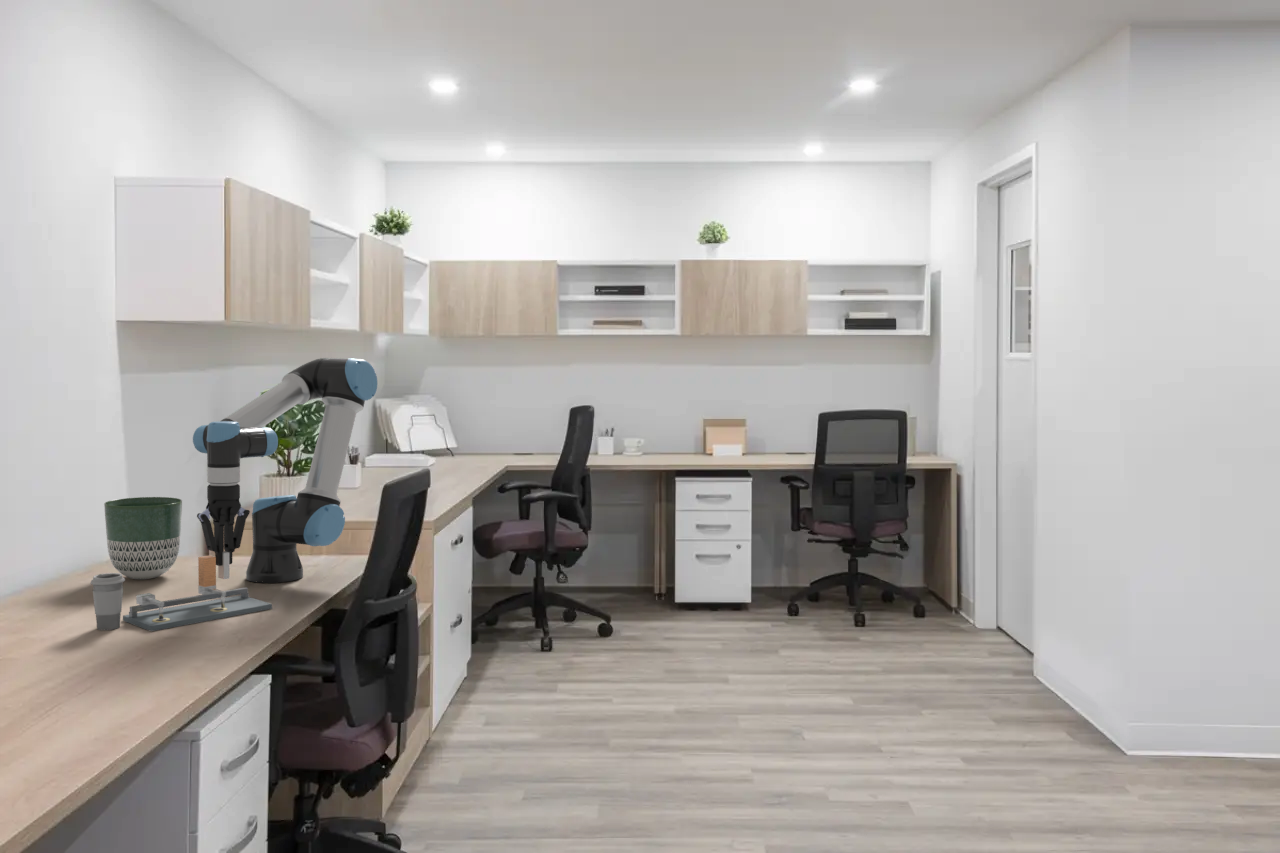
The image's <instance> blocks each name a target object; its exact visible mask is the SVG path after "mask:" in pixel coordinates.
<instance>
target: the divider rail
mask: <svg viewBox="0 0 1280 853" xmlns="http://www.w3.org/2000/svg"><path fill="white" fill-rule="evenodd" d="M224 591H225V592H226V595H225V598H228V597H234V596H239V595H241V598H249V597H250V593H249V588H248V587H239V588H234V589H227V590H224ZM135 596H136V598H135V599H136V604H137V605H133V606H129V611H128V615H129V617H131V618H135V617H137V613H140V612H146V611H152V610H158V609H159V619H163V609H164V608H169V607H175V606H181V605H187V604H193V603H199V602H204V601H210V600H216V599H221V595H218V594H208V595H203V594H197V595H192V596H187V597H180V598H175V599H168V600H167V599H166V600H158V599H156V594H153V593H150V592H148V593H143V594H142V593H141V594H136V595H135Z"/></svg>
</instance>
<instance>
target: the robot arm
mask: <svg viewBox="0 0 1280 853" xmlns="http://www.w3.org/2000/svg"><path fill="white" fill-rule="evenodd" d="M377 390H378V377H377V372H375V369H374V366H372V364H371V363H370V362H369V361H367V360H365V359H363V358H362V359H361V358H354V357H351V358H341V357H340V358H338V357H336V358H335V357H331V358H329V357H323V358H322V357H320V358H317V359H314V360H311V361H308V362H306V363H304V364H302V365H299V366H298V367H296V368H295V369H293V370H292V371H290V372H288V373H286V374H285V375H284V376H283V377H282V378H281V381H280V383H277V384H276V385H274V386H273V387H271V388H270V389H269V390H266V391H265V392H264V393H262V394H260V395H259V396H257V397H256V398H254V399H252V400H251V401H249V402H248V403H246V404H245V405H243V406H242V407H240V408H238V409H237V410H235V411H234V412H232V413H231V414H229V415H227V416H226V417H224V418H223V419H221V420H218V421H211V422H209V423H208V424H204V425H200V426H198V427H196V429H195V431H193V432H194V433H193V435H192V443H193V446H194V448H195V450H197V451H198V452H199V453H202V454H207V456H206V458H207V459H206V460H207V462H206V464H207V465H206V466H207V469H206V471H207V474H206V476H207V483H208V485H207V487H206V488H207V489H206V490H207V492H206V494H207V497H206V498H207V505H206V507H205V510H203V511H202V512H201V513H200V512H199V513H197V514H196V518H197V519H198V520H199V521H200V524H201V528H202V532H203V536H204V541H205V545H206V549H207V550H208V551H211V552H214V555H215V556H214V557H216V567H218V568H217V569H218V570H217V574H218V575H217V576H218V577H217V578H219V579H222V580H228V579H230V565H232V564H233V553H234V552H235V551H236V550H237V549H239V548H240V547H241V544H242V539H243V534H244V531H245V530H244V529H245V525H246V521H247V518H248V517H249V515H250V513H251V511H250V510H249V509H246V508H244V507H242V505H241V502H240V496H241V486H240V484H239V483H240V482H241V459H243V458H244V459H247V458H259V457H261V458H263V457H266V456H267V457H268V456H271V455H273V454H274V453H275V452H276V451H277V449H278V445H279V438H278V435H277V433H276V431H275V430H273V429H272V428H271V427H267V425H268V424H270V423H271V422H273V421H274V420H275V419H277V418H279V417H281V415H283V414H284V413H286V412H288V411H289V410H290V409H292V408H294V407H295V406H297V405H304V404H306V403H307V402H310V401H311V400H317V399H321V401H322V402H323V404H324V405H325V409H324V412H323V417H322V420H321V425H320V427H319V433H318V436H317V441H316V444H315V448H314V452H313V456H312V460H311V465H310V468H309V471H308V472H309V473H308V476H307V480H306V484H305V487H304V489H302V490H300V491H298V492H297V496H296V495H295V494H288V495H287V494H284V495H275V496H268V497H261V498H257V499H255V500H254V502H253V503H252V513H251V521H252V525H251V526H252V527H251V528H252V553H251V557H250V560H249V562H248V564H247V565H248V566H247V568H246V571H245V574H246V576H245V578H246V579H245V580H247V581H249V582H252V583H262V584H263V583H265V584H267V583H268V584H269V583H271V584H274V583H275V584H276V583H285V582H286V583H287V582H293V581H296V580H300V579H302V578H303V577H304V568H303V564H302V562H301V559H300V556H299V553H298V550H297V545H304V546H305V545H306V546H307V545H308V546H311V547H326V546H329V545H330V546H331V545H332V544H333V543H334V542H336V541H337V540H338V539H339V538H340V536H341V535H342V534H343V531H344V529H345V528H344V527H345V525H346V524H345V523H346V517H345V516H344V515H345V512H344V510H343V508H341V507H340V506H341V499H340V498H339V496H338V491H339V487H340V482H341V478H342V474H343V469H344V466H345V461H346V457H347V454H348V453H347V452H348V448H349V445H350V441H351V437H352V434H353V428H354V425H355V424H354V423H355V422H356V417H357V413H359V412H361V411H363V410H364V406H365V401H369V400H372V398H374V396H375V395H376V393H377ZM265 426H266V427H265ZM235 518H236V519H235ZM210 519H212V523H213V526H212V523H211V520H210Z"/></svg>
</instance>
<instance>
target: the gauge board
mask: <svg viewBox="0 0 1280 853" xmlns="http://www.w3.org/2000/svg"><path fill="white" fill-rule="evenodd" d="M272 609H273V604H272V603H271V602H267V601H264V600H261V599H257V598H254V597H250V596H249V598H241V594H238V595H233V596H227V597H225V608H221V598H215V599H209V600H204V601H198V602H192V603H186V604H180V605H175V606H169V607H163V619H159V608H157V609H151V610H146V611H140V612H137V617H135V618H131V617H129V614H125V615H122V621H123V622H126V623H128V624H131V625H133V626H136V627H138V628H141V629H144V630H147V631H149V632H155V631H160V630H166V629H170V628H175V627H176V628H177V627H181V626H187V625H192V624H197V623H202V622H203V623H204V622H208V621H213V620H219V619H225V618H230V617H235V616H240V615H241V616H242V615H246V614H250V613H251V614H252V613H256V612H261V611H266V610H272Z"/></svg>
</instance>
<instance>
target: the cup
mask: <svg viewBox="0 0 1280 853" xmlns="http://www.w3.org/2000/svg"><path fill="white" fill-rule="evenodd" d="M123 576H124V575H123V574H121V573H120V572H109V573H107V572H106V573H99V574H95V575H93V577H92V579H91V581H90V584H91V585H92V586H93V589H92V595H93V596H92V597H93V606H94V614H95V621H96V629H97V630H99V631H112V630H115V629H116V630H117V629H119V628H120V627H121V614H122V610H123V609H122V608H123V595H124V594H123V592H124V587H123V583H124V582H125V581H126V579H125V576H124V577H123Z"/></svg>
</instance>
